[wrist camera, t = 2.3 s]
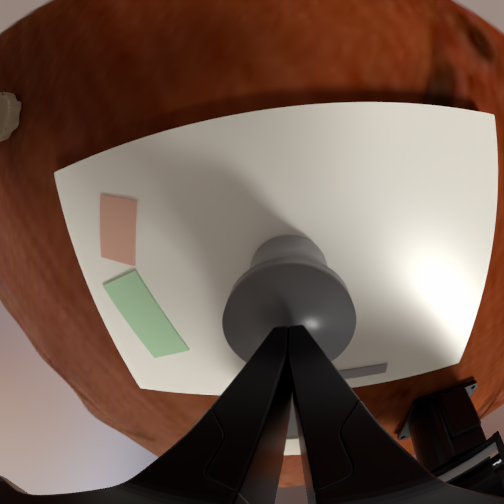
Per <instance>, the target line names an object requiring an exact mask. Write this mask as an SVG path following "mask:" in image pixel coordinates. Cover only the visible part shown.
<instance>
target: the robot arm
mask: <svg viewBox="0 0 504 504" xmlns="http://www.w3.org/2000/svg"><path fill="white" fill-rule="evenodd" d="M477 385H478V384H477V382H476V380H473V381H471V382H468V383H465V384H463V385H460V386H457V387H454V388H451V389H448V390H445V391H442V392H439V393H436V394H433V395H429V396H426V397H422V398H419V399H417V400H415V401H414V402H413V404H412V406H411V408H410V410H409V413H408V415H407V417H406V419H405V421H404V423H403V425H402V427H401V429H400V431H399V433H398V435H397V437H398V440H403V439H406V438H410V437H411V439H412V443H413V447H414V451H415V455H416V459H417V460H416V459H415V458H414V457H413V456H412V455H411V454H409V453H408V452H407V451H406V450H405V449H404V448H403V447H402V446H401V445H400V444H399V443H398V442H397V441H396V440H395V439H394V438H393V437H392V436H391V435H390V434H389V433H388V432H387V431H386V430H385V429H384V428H383V427H382V426H381V425H380V424H379V423H378V421H377V420H376V419H375V418H374V417H373V415H372V414H371V413H370V412H369V410H368V409H367V408H366V406H365V405H364V404H363V403H362V401H360V399H359V397H358V396H357V395H356V394H355V392H354V391H353V390H352V388H351V387H350V386H349V384H348V383H347V382H346V380H345V379H344V378H343V376H342V375H341V374H340V372H339V371H338V370H337V368H336V367H335V366H334V365H333V363H332V362H331V361H330V359H329V358H328V357H327V355H326V354H325V353H324V351H323V350H322V349H321V347H320V346H319V345H318V343H317V342H316V341H315V339H314V338H313V337H312V335H311V334H310V333H309V331H308V330H307V329H306V327H305V326H304V325H292V326H289V328H288V327H287V326H280V327H274V328H273V329H272V330H271V331H270V333H269V334H268V335H267V337H266V338H265V339H264V341H263V342H262V343H261V345H260V346H259V347H258V349H257V350H256V351H255V353H254V354H253V355H252V357H251V358H250V359H249V360H248V362H247V363H246V364H245V366H244V367H243V368H242V369H241V371H240V372H239V373H238V374H237V376H236V377H235V378H234V379H233V381H232V382H231V383H230V384H229V386H228V387H227V388H226V389H225V390H224V392H223V393H222V394H221V395H220V397H219V398H218V399H217V400H216V401H215V403H214V404H213V405H212V406H211V409H208V411H207V412H206V413H205V414H204V415H203V417H202V418H201V419H200V420H199V421H198V422H197V423H196V424H195V425H194V426H193V427H192V428H191V430H190V431H189V432H188V433H187V434H185V435H184V436H183V437H182V438H181V439H180V440H179V441H178V442H177V443H176V444H175V445H173V446H172V447H171V448H170V449H169V450H168V451H166V452H165V453H164V454H163V455H162V456H160V457H159V458H158V459H157V460H155V461H154V462H153V463H152V464H150V465H149V466H148V467H147V468H146V469H144V470H143V471H141V472H140V473H139V474H137V475H136V476H135V477H133V478H131V479H130V480H128V481H126V482H124V483H122V484H119V485H116V486H113V487H110V488H105V489H98V490H92V491H85V492H77V493H67V494H55V495H31V494H28V493H27V492H25V491H24V490H22V489H21V488H19V487H18V486H16V485H15V484H14V483H12V482H11V481H9V480H8V479H6V478H4V477H2V476H0V504H275V499H276V494H277V489H278V484H279V479H280V473H281V468H282V462H283V456H284V450H285V444H286V438H287V432H288V425H289V418H290V411H291V403H292V397H293V406H294V412H295V419H296V425H297V432H298V438H299V445H300V452H301V459H302V466H303V473H304V480H305V487H306V494H307V502H308V504H504V444H503V441H502V439H501V436H500V434H499V432H498V431H497V432H496V433H494V434H493V435H492V437H490V438H489V439H488V440H486V437H485V435H484V432H483V429H482V427H481V421H480V418H479V416H478V414H477V412H476V409H475V407H474V405H473V403H472V401H471V399H470V397H471V396H472V394H473V392H474V391H475V389H476V387H477ZM497 450H498V454H497V455H495V456H494V457H493V458H490V455H491V454H492V453H494V452H495V451H497ZM480 461H481V462H480ZM477 463H478V464H477ZM469 468H470V469H469ZM462 472H463V473H462ZM455 476H456V477H455ZM453 477H454V478H453Z"/></svg>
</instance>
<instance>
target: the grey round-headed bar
mask: <svg viewBox="0 0 504 504" xmlns="http://www.w3.org/2000/svg"><path fill="white" fill-rule="evenodd" d="M292 325H304V326H305V327H306V329H307V330H308V331H309V333H310V334H311V335H312V337H313V338H314V339H315V341H316V342H317V343H318V345H319V346H320V347H321V349H322V350H323V351H324V353H325V354H326V355H327V357H328V358H329V359H330V361H333V360H334V359H336V358H337V357H338V356H339V355H340V354H341V353H342V352H343V351H344V350H345V349H346V348H347V346H348V345H349V343H350V341H351V339H352V337H353V335H354V332H355V328H356V312H355V308H354V305H353V302H352V299H351V296H350V294H349V291H348V289H347V286H346V285H345V283H344V281H343V280H342V279H341V278H340V276H339V275H338V274H337V273H336V272H334V271H333V270H332V269H331V268H329V267H328V265H327V262H326V259H325V257H324V254H323V253H322V251H321V250H320V248H319V247H318V246H317V245H316V244H315V243H313V242H312V241H310V240H308V239H306V238H304V237H301V236H297V235H282V236H277V237H274V238H272V239H270V240H268V241H266V242H265V243H264V244H262V245H261V246H260V247H259V248H258V249H257V251H256V252H255V254H254V256H253V258H252V261H251V264H250V268H249V270H247V271H246V272H245V273H244V274H243V275H242V276H241V277H240V278H239V279H238V280H237V281H236V283H235V284H234V286H233V288H232V290H231V292H230V294H229V297H228V300H227V303H226V306H225V309H224V312H223V318H222V327H223V332H224V336H225V338H226V341H227V342H228V344H229V346H230V347H231V349H232V350H233V351H234V352H235V353H236V354H237V355H238V356H239V357H240V358H241V359H242V360H244V361H245V362H248V360H249V359H250V358H251V357H252V355H253V354H254V353H255V351H256V350H257V349H258V347H259V346H260V345H261V343H262V342H263V341H264V339H265V338H266V337H267V335H268V334H269V333H270V331H271V330H272V329H273V328H274V327H280V326H287V327H288V328H289V326H292ZM300 454H301V452H300V445H299V438H298V432H297V425H296V419H295V412H294V406H293V397H292V403H291V411H290V418H289V425H288V432H287V438H286V444H285V450H284V455H300Z"/></svg>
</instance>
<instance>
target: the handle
mask: <svg viewBox="0 0 504 504" xmlns="http://www.w3.org/2000/svg"><path fill="white" fill-rule="evenodd" d="M20 110H21V102H20V101H17V99H16V96H15V94H13V93H8V92H1V93H0V142H1V141H4V140H6V139H8V138H9V137H10V136H11V133H12V132H13V130H14V129H16V128H17V127H18V125H19V122H20V121H19V114H20Z"/></svg>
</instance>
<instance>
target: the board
mask: <svg viewBox="0 0 504 504" xmlns="http://www.w3.org/2000/svg"><path fill="white" fill-rule="evenodd" d="M54 176H55V181H56V185H57V190H58V194H59V198H60V202H61V206H62V210H63V214H64V217H65V221H66V224H67V228H68V231H69V234H70V237H71V241H72V244H73V247H74V250H75V253H76V255H77V258H78V261H79V264H80V267H81V269H82V272H83V275H84V277H85V280H86V282H87V285H88V287H89V290H90V292H91V294H92V297H93V299H94V301H95V304H96V306H97V308H98V310H99V313H100V315H101V317H102V319H103V321H104V323H105V325H106V327H107V329H108V331H109V333H110V335H111V337H112V339H113V341H114V343H115V345H116V347H117V349H118V351H119V353H120V354H121V356H122V358H123V360H124V362H125V363H126V365H127V367H128V369H129V370H130V372H131V374H132V375H133V377H134V379H135V380H136V382H137V384H138V385H139V387H140V388H143V389H150V390H158V391H167V392H177V393H189V394H205V395H221V394H222V393H223V392H224V390H225V389H226V388H227V387H228V386H229V384H230V383H231V382H232V381H233V379H234V378H235V377H236V376H237V374H238V373H239V372H240V371H241V369H242V368H243V367H244V366H245V364H246V363H247V362H245V361H244V360H242V359H241V358H240V357H239V356H238V355H237V354H236V353H235V352H234V351H233V350H232V349H231V347H230V346H229V344H228V342H227V341H226V338H225V336H224V332H223V327H222V318H223V312H224V309H225V306H226V303H227V300H228V297H229V294H230V292H231V290H232V288H233V286H234V284H235V283H236V281H237V280H238V279H239V278H240V277H241V276H242V275H243V274H244V273H245V272H246V271H247V270H249V268H250V264H251V261H252V258H253V256H254V254H255V252H256V251H257V249H258V248H259V247H260V246H261V245H262V244H264V243H265V242H266V241H268V240H270V239H272V238H274V237H277V236H282V235H297V236H301V237H304V238H306V239H308V240H310V241H312V242H313V243H315V244H316V245H317V246H318V247H319V248H320V250H321V251H322V253H323V254H324V257H325V259H326V262H327V265H328V267H329V268H331V269H332V270H333V271H334V272H336V273H337V274H338V275H339V276H340V278H341V279H342V280H343V281H344V283H345V285H346V286H347V289H348V291H349V294H350V296H351V299H352V302H353V305H354V308H355V312H356V328H355V332H354V335H353V337H352V339H351V341H350V343H349V345H348V346H347V348H346V349H345V350H344V351H343V352H342V353H341V354H340V355H339V356H338V357H337V358H336V359H334V360H333V361H331V362H332V363H333V365H334V366H335V367H336V368H337V370H338V371H339V372H340V374H341V375H342V376H343V378H344V379H345V380H346V382H347V383H348V384H349V386H350V387H351V388H354V387H360V386H366V385H372V384H378V383H383V382H388V381H393V380H397V379H402V378H406V377H411V376H415V375H419V374H423V373H426V372H430V371H434V370H437V369H441V368H444V367H447V366H451V365H454V364H457V363H459V362H460V359H461V357H462V354H463V352H464V349H465V347H466V344H467V341H468V339H469V336H470V333H471V330H472V327H473V324H474V321H475V318H476V315H477V311H478V308H479V304H480V301H481V297H482V293H483V289H484V285H485V281H486V277H487V272H488V267H489V262H490V256H491V251H492V244H493V237H494V229H495V220H496V209H497V192H498V154H497V137H496V126H495V118H494V115H493V114H488V113H483V112H478V111H473V110H467V109H460V108H453V107H445V106H437V105H427V104H414V103H396V102H342V103H323V104H310V105H299V106H289V107H281V108H273V109H266V110H259V111H253V112H247V113H241V114H235V115H230V116H225V117H220V118H215V119H210V120H206V121H202V122H197V123H193V124H189V125H185V126H181V127H177V128H174V129H170V130H167V131H163V132H160V133H156V134H153V135H150V136H146V137H143V138H140V139H137V140H134V141H131V142H128V143H125V144H122V145H119V146H117V147H114V148H111V149H108V150H106V151H103V152H101V153H98V154H95V155H93V156H91V157H88V158H86V159H83V160H81V161H79V162H76V163H74V164H72V165H69V166H67V167H65V168H63V169H61V170H58V171H56V172H54Z"/></svg>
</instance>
